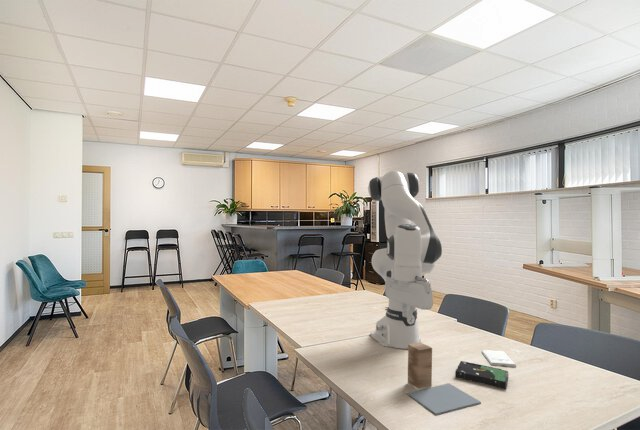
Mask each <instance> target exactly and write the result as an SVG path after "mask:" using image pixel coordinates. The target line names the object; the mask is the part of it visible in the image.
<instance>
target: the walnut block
mask: <svg viewBox="0 0 640 430" xmlns="http://www.w3.org/2000/svg"><path fill="white" fill-rule="evenodd" d="M432 370H433V348H432V347H431V346H429V345H427V344H425V343H424V342H419V343H415V344H408V351H407V384H408V385H409V386H410V387H412V388H414V389H415V390H416V391H417V390H421V389H426V388H430V387H433V386H432V385H433V384H432V383H433V382H432V375H433V374H432V372H433V371H432Z"/></svg>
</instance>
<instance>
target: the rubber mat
mask: <svg viewBox="0 0 640 430" xmlns="http://www.w3.org/2000/svg"><path fill="white" fill-rule="evenodd" d="M406 395H407V396H409V397H411V399H413V400H414V401H416V402H417V403H418V404H419V405H421V406H422V407H424V408H425V409H427V410H428V411H430V412H431V413H432V414H434V416H437V415H442V414H444V413H449V412H453V411H457V410H460V409H464V408H468V407H472V406H476V405H480V404H482V401H481V400H478V399H477V398H475V397H474V396H472V395H471V394H469V393H466V392H465V391H463V390H462V389H460V388H458V387H456V386H455V385H452V384H451V383H444V384H440V385H436V386H431V387H430V388H426V389H421V390H417V389H416V390H412V391H409V392H406Z"/></svg>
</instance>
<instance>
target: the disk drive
mask: <svg viewBox="0 0 640 430" xmlns="http://www.w3.org/2000/svg"><path fill="white" fill-rule="evenodd" d="M454 375H455V376H454V377H455V378H456V379H460V380H464V381H468V382H474V383H478V384H481V385H485V386H490V387H494V388H498V389H503V390H507V387H508V380H509V371H508V370H505V369H502V368H497V367H492V366H488V365H483V364H478V363H472V362H468V361H465V360H464V361H462V360H460V362H459V364H458V365H457V368H456V369H455V374H454Z"/></svg>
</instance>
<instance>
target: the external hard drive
mask: <svg viewBox="0 0 640 430" xmlns="http://www.w3.org/2000/svg"><path fill="white" fill-rule="evenodd" d="M482 353H483V354H482ZM481 354H482V355H483V356H484V357H485V359H486V360H487V362H489V364H490V365H491V366H495V367H497V366H499V367H508V368H509V367H510V368H517V364H516V363H515V361H513V360H512V359H511V358H510V356H508V354H507V353H506V352H505V351H503V350H490V349H489V350H488V349H482V350H481Z"/></svg>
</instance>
